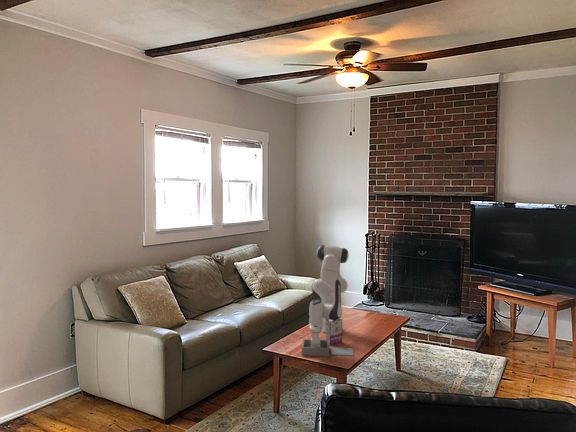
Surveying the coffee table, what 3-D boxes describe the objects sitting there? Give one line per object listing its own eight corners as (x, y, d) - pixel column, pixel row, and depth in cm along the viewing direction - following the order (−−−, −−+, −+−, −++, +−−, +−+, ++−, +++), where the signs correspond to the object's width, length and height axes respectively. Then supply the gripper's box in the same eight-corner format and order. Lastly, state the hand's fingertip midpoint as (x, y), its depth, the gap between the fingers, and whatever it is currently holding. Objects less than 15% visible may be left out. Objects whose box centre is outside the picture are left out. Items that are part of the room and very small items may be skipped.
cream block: (311, 349, 294) (311, 337, 294) (320, 350, 294) (320, 338, 293) (310, 352, 290) (310, 340, 289) (320, 352, 289) (320, 340, 289)
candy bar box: (337, 340, 313) (337, 317, 312) (342, 342, 309) (342, 318, 308) (325, 343, 307) (325, 319, 306) (330, 345, 303) (330, 321, 302)
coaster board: (331, 348, 297) (331, 347, 297) (352, 349, 296) (352, 348, 296) (331, 355, 285) (331, 354, 285) (353, 356, 284) (353, 355, 284)
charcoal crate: (303, 346, 300) (303, 339, 300) (328, 347, 299) (328, 340, 299) (301, 355, 285) (301, 347, 284) (328, 356, 283) (328, 348, 283)
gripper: (311, 320, 301) (311, 340, 302) (310, 330, 281) (310, 351, 282) (321, 320, 301) (320, 341, 302) (320, 330, 280) (320, 352, 281)
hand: (315, 346), depth 291 cm, fingers closed on cream block, 4 cm apart
